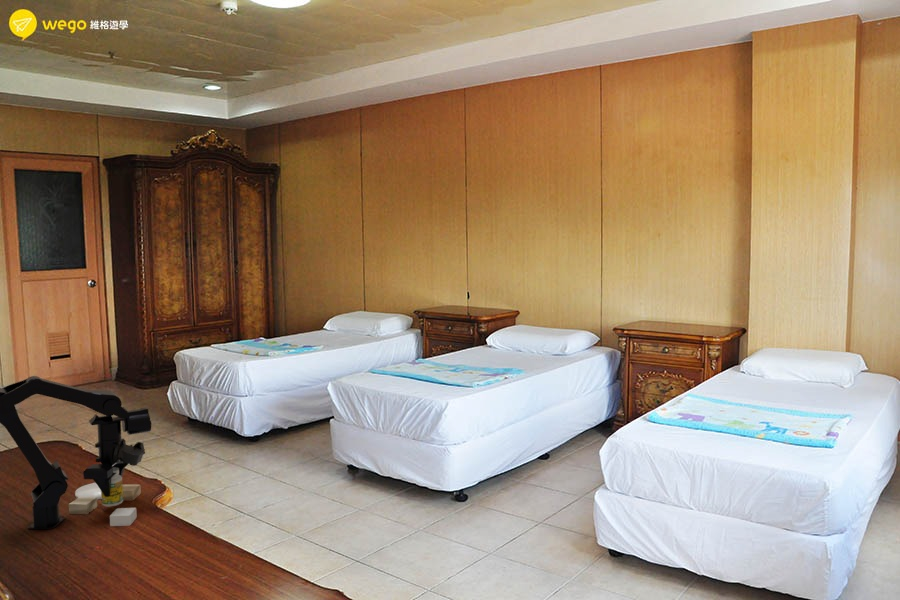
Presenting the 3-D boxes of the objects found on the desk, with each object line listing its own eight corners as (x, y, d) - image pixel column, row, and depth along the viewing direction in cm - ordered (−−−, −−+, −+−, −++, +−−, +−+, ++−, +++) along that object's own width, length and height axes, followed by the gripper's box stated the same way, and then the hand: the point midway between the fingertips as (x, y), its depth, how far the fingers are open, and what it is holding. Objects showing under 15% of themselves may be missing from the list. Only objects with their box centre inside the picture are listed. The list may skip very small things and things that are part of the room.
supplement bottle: (119, 497, 191) (118, 464, 190) (126, 503, 187) (124, 469, 186) (99, 502, 187) (97, 469, 186) (105, 508, 183) (103, 474, 182)
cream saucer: (109, 500, 194) (109, 496, 194) (67, 500, 194) (66, 496, 193) (127, 484, 206) (127, 481, 206) (87, 484, 205) (87, 481, 205)
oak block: (132, 501, 194) (132, 491, 194) (115, 501, 194) (115, 491, 194) (140, 494, 199) (140, 484, 199) (123, 494, 199) (123, 484, 199)
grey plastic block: (130, 526, 178) (129, 515, 177) (110, 527, 177) (109, 516, 177) (136, 518, 183) (136, 507, 182) (117, 519, 182) (116, 508, 182)
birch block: (87, 515, 184) (86, 504, 184) (69, 514, 184) (68, 504, 184) (97, 507, 189) (96, 497, 189) (79, 507, 189) (79, 497, 189)
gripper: (124, 448, 176) (126, 506, 178) (153, 427, 195) (155, 480, 196) (81, 448, 176) (83, 506, 177) (113, 427, 194) (116, 480, 196)
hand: (112, 492), depth 187 cm, fingers closed on supplement bottle, 5 cm apart
